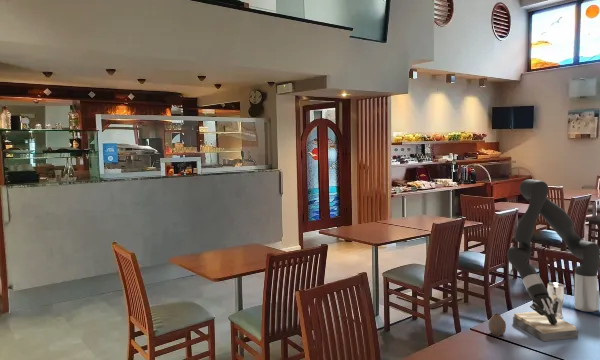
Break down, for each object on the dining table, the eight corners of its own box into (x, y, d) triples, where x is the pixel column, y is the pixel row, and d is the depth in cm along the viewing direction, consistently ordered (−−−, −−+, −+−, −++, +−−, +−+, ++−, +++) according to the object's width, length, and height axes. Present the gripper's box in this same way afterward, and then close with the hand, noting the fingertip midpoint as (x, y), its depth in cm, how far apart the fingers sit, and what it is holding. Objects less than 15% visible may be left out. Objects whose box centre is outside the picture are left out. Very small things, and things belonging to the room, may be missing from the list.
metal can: (559, 313, 217) (560, 282, 216) (566, 318, 210) (567, 286, 209) (544, 313, 218) (544, 282, 217) (550, 318, 211) (551, 286, 210)
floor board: (512, 323, 207) (513, 313, 207) (544, 319, 210) (544, 310, 209) (543, 341, 187) (543, 330, 187) (577, 337, 190) (578, 327, 190)
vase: (491, 329, 201) (491, 310, 200) (507, 333, 197) (507, 313, 196) (486, 334, 196) (486, 314, 195) (503, 338, 191) (503, 318, 191)
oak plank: (528, 324, 197) (528, 321, 197) (559, 321, 200) (559, 318, 199) (543, 333, 188) (543, 330, 188) (576, 330, 190) (576, 326, 190)
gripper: (525, 283, 199) (544, 321, 188) (552, 281, 201) (573, 318, 190) (517, 292, 205) (536, 329, 194) (544, 289, 207) (563, 326, 196)
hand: (554, 323), depth 192 cm, fingers closed
